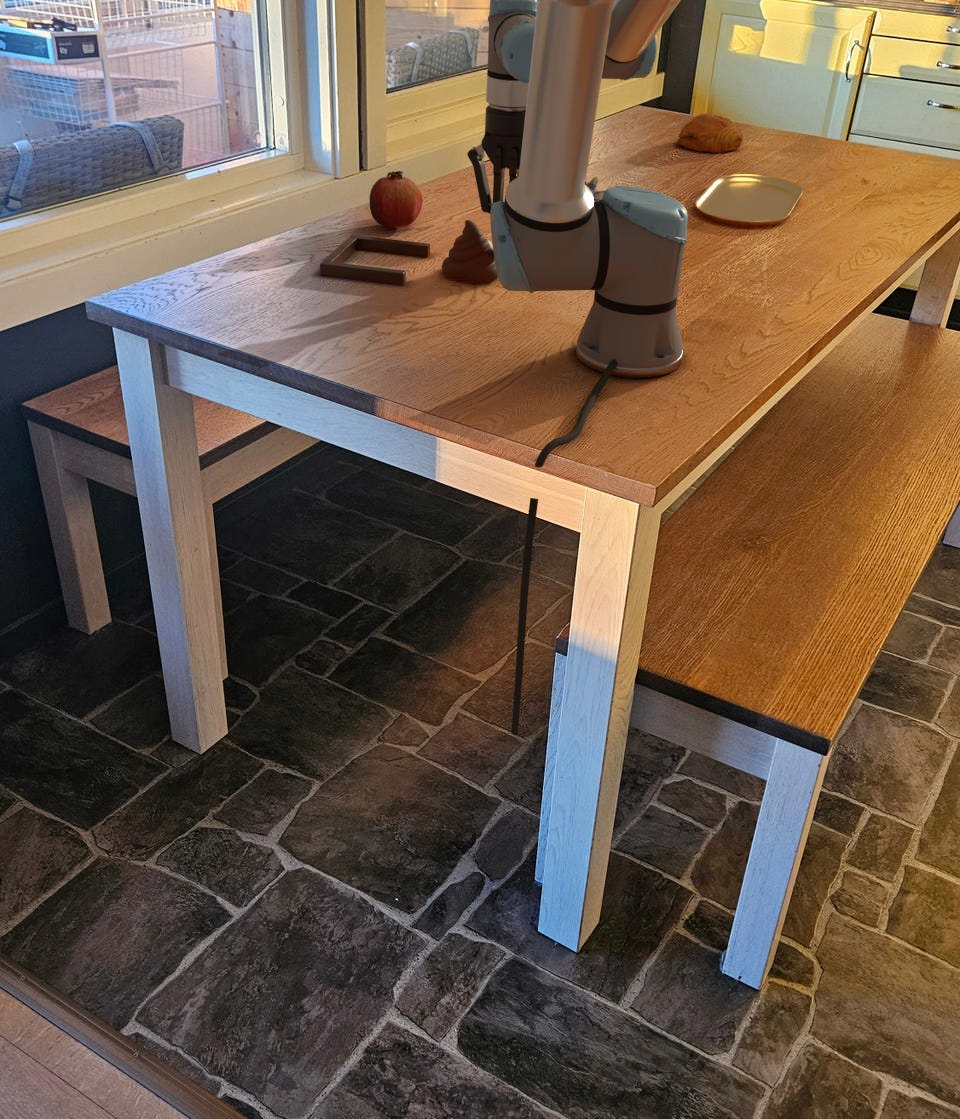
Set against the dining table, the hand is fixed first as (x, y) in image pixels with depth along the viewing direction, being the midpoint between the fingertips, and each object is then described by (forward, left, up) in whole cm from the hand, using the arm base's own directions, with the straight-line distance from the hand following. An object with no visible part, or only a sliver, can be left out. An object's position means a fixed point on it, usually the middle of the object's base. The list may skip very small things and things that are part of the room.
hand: (503, 255), depth 180 cm
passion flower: (+30, -10, -4) cm, 32 cm away
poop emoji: (0, +5, -4) cm, 7 cm away
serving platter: (+60, -39, -4) cm, 71 cm away
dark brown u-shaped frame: (0, +22, -4) cm, 22 cm away
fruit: (+21, +25, -4) cm, 33 cm away
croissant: (+106, -27, -4) cm, 109 cm away
